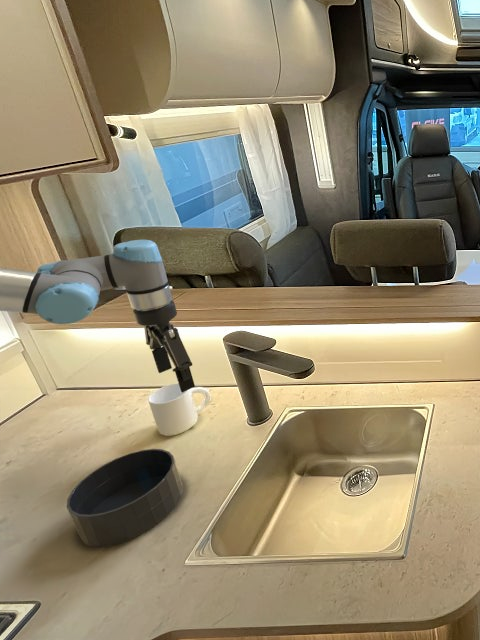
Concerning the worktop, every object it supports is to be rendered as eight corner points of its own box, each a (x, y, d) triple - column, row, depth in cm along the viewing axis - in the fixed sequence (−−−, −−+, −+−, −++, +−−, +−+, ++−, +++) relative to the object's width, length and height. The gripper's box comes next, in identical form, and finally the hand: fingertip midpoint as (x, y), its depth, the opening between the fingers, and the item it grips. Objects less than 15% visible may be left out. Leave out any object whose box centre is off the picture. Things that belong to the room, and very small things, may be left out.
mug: (210, 403, 116) (202, 372, 112) (218, 417, 111) (210, 386, 107) (155, 425, 107) (145, 392, 104) (162, 442, 102) (151, 408, 99)
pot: (69, 518, 83) (55, 488, 80) (165, 465, 96) (156, 438, 93) (95, 564, 75) (81, 533, 72) (196, 499, 88) (187, 470, 85)
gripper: (195, 312, 94) (216, 389, 101) (152, 286, 107) (173, 356, 114) (155, 326, 88) (180, 406, 95) (114, 296, 101) (139, 369, 108)
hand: (176, 379), depth 105 cm, fingers open, 13 cm apart
